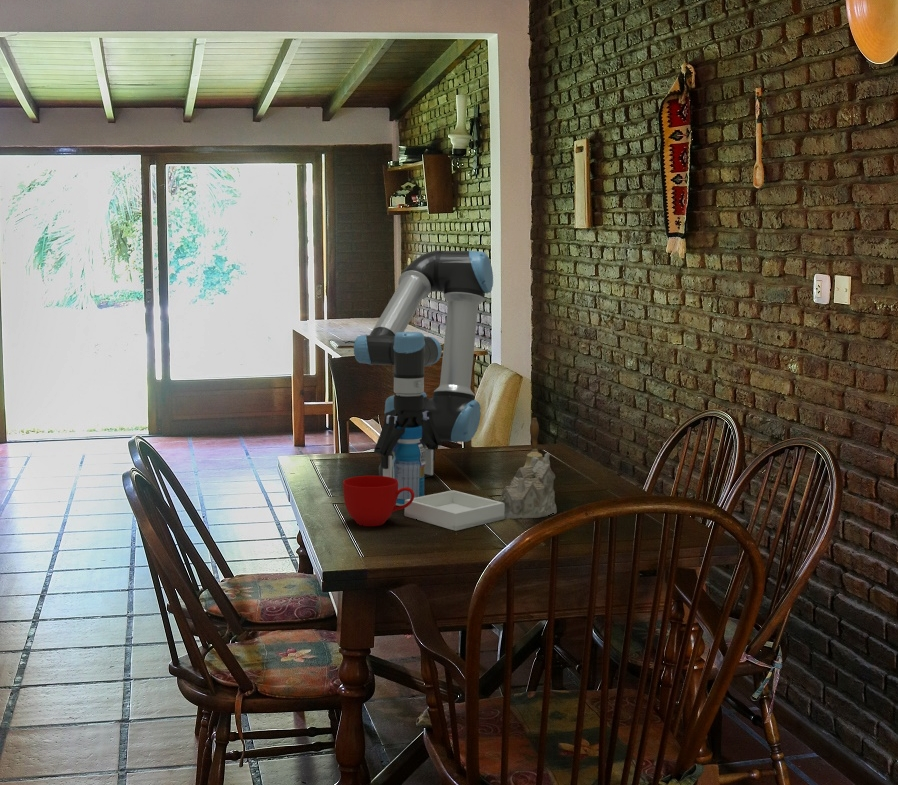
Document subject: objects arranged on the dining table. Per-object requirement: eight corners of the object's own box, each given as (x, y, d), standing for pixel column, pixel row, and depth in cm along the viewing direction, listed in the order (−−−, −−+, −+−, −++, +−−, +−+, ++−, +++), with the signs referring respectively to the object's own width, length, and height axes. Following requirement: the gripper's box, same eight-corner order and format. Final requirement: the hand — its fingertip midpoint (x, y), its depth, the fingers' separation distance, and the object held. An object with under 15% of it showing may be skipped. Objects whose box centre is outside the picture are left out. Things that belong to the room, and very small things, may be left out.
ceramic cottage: (538, 499, 284) (536, 443, 281) (567, 517, 269) (566, 457, 266) (482, 508, 278) (480, 450, 276) (509, 526, 263) (507, 465, 261)
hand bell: (529, 476, 312) (530, 421, 310) (514, 471, 319) (515, 416, 317) (554, 474, 316) (555, 419, 314) (539, 468, 323) (540, 414, 321)
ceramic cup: (408, 532, 252) (408, 489, 250) (336, 528, 255) (336, 486, 253) (419, 518, 264) (419, 477, 263) (351, 514, 267) (350, 474, 266)
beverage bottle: (402, 509, 273) (402, 429, 270) (385, 502, 280) (385, 424, 278) (431, 505, 278) (431, 426, 275) (414, 498, 285) (414, 421, 282)
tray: (404, 516, 266) (404, 499, 266) (453, 505, 277) (453, 490, 277) (455, 530, 253) (455, 513, 253) (504, 519, 264) (504, 502, 264)
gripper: (379, 399, 264) (379, 486, 267) (455, 391, 281) (454, 473, 284) (360, 396, 269) (359, 481, 272) (435, 388, 286) (435, 469, 289)
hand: (408, 477), depth 278 cm, fingers open, 13 cm apart
